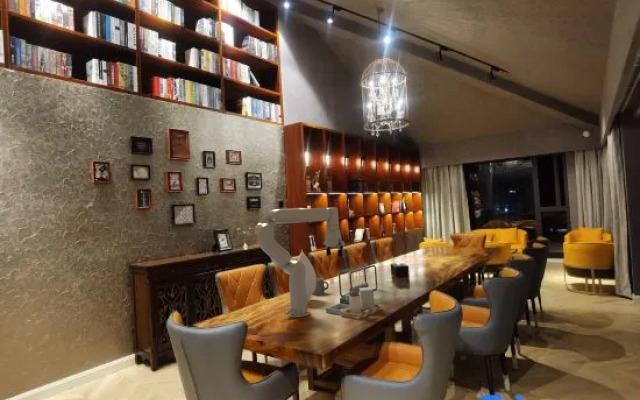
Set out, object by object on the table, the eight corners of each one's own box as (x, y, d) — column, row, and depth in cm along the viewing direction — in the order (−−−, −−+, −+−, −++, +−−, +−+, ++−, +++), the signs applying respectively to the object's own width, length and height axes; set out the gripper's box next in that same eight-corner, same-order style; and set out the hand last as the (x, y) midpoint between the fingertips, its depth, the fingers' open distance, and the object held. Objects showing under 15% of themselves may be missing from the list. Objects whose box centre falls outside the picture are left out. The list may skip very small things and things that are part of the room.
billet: (356, 317, 222) (355, 293, 222) (348, 315, 226) (346, 292, 226) (363, 314, 226) (361, 291, 226) (354, 313, 230) (353, 290, 231)
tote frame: (341, 315, 228) (341, 310, 228) (326, 312, 236) (325, 308, 236) (355, 310, 237) (354, 305, 237) (339, 307, 245) (339, 303, 245)
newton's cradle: (365, 288, 293) (364, 263, 293) (378, 289, 286) (376, 264, 286) (339, 297, 271) (337, 271, 271) (352, 299, 264) (350, 272, 264)
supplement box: (372, 308, 238) (371, 286, 238) (375, 311, 231) (373, 289, 231) (360, 309, 238) (358, 287, 238) (362, 312, 230) (360, 290, 230)
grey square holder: (350, 308, 242) (349, 299, 242) (340, 306, 247) (339, 298, 247) (358, 305, 247) (358, 296, 247) (348, 303, 253) (347, 295, 253)
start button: (349, 305, 244) (349, 295, 244) (344, 304, 247) (344, 295, 247) (353, 304, 247) (353, 294, 247) (348, 303, 250) (348, 293, 250)
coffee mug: (308, 294, 286) (307, 280, 286) (313, 291, 295) (312, 277, 295) (325, 295, 280) (324, 280, 280) (330, 291, 290) (329, 277, 290)
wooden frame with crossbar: (357, 319, 218) (357, 314, 218) (340, 316, 226) (340, 311, 226) (382, 309, 234) (381, 304, 234) (365, 306, 243) (365, 302, 243)
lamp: (289, 303, 264) (286, 249, 264) (298, 297, 279) (295, 246, 279) (312, 303, 259) (308, 249, 259) (320, 297, 274) (316, 246, 274)
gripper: (318, 228, 249) (320, 256, 249) (338, 228, 237) (340, 257, 237) (326, 227, 255) (328, 254, 254) (347, 227, 242) (349, 255, 242)
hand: (334, 255), depth 246 cm, fingers open, 9 cm apart
